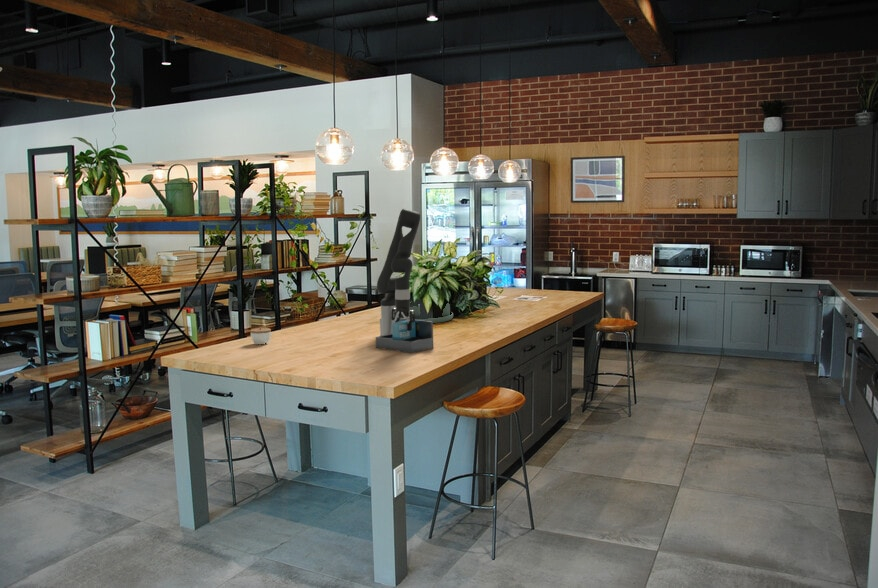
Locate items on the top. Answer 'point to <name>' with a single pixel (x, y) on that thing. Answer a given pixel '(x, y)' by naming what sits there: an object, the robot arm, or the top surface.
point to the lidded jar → (260, 335)
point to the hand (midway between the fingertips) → (403, 329)
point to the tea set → (445, 317)
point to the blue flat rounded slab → (402, 330)
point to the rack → (409, 339)
